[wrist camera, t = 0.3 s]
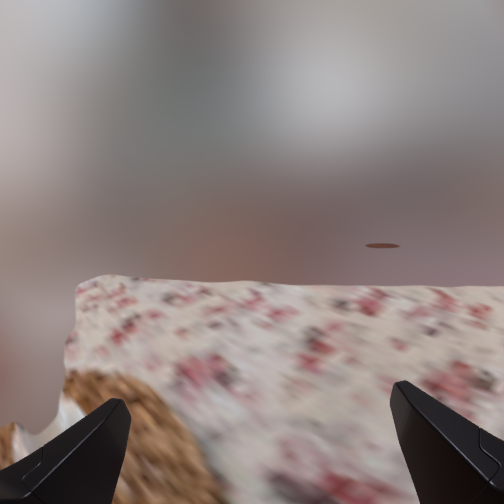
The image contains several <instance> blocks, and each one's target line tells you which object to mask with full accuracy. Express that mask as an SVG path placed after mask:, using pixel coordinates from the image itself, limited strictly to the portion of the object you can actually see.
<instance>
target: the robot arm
mask: <svg viewBox="0 0 504 504" xmlns="http://www.w3.org/2000/svg"><path fill="white" fill-rule="evenodd" d="M390 407H391V411H392V415H393V419H394V423H395V428H396V432H397V436H398V440H399V444H400V447H401V450H402V452H403V455H404V458H405V460H406V463H407V466H408V469H409V472H410V475H411V478H412V480H413V483H414V486H415V489H416V492H417V495H418V498H419V501H420V504H504V441H503V440H501V439H499V438H497V437H495V436H494V435H492V434H490V433H488V432H487V431H485V430H484V429H482V428H479V426H477V425H475V424H474V423H472V422H471V421H469V420H467V419H466V418H464V417H463V416H461V415H460V414H458V413H456V412H455V411H453V410H452V409H450V408H449V407H447V406H445V405H444V404H442V403H441V402H439V401H438V400H436V399H434V398H433V397H431V396H430V395H428V394H427V393H425V392H424V391H422V390H421V389H419V388H417V387H416V386H414V385H413V384H411V383H410V382H408V381H406V380H404V381H399V382H396V383H394V385H393V389H392V393H391V398H390ZM130 424H131V415H130V413H129V411H128V408H127V406H126V404H125V402H124V401H123V400H122V399H118V398H111V399H109V400H108V401H106V402H105V403H104V404H102V405H101V406H100V407H98V408H97V409H95V410H94V411H93V412H91V413H90V414H88V415H87V416H85V417H84V418H83V419H81V420H80V421H78V422H77V423H76V424H74V425H73V426H71V427H70V428H68V429H67V430H65V431H64V432H63V433H61V434H60V435H58V436H57V437H55V438H54V439H52V440H51V441H49V442H48V443H47V444H45V445H44V446H43V447H41V448H39V449H38V450H36V451H35V452H33V453H31V454H30V455H28V456H27V457H25V458H23V459H21V460H20V461H18V462H16V463H14V464H12V465H10V466H8V467H6V468H4V469H2V470H0V504H111V503H112V499H113V496H114V492H115V488H116V485H117V481H118V478H119V474H120V471H121V467H122V464H123V460H124V457H125V452H126V447H127V441H128V435H129V430H130Z"/></svg>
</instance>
